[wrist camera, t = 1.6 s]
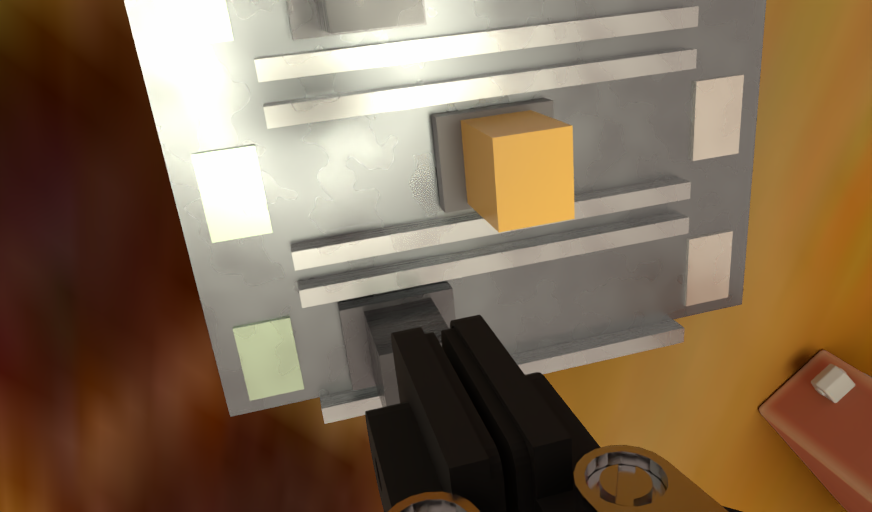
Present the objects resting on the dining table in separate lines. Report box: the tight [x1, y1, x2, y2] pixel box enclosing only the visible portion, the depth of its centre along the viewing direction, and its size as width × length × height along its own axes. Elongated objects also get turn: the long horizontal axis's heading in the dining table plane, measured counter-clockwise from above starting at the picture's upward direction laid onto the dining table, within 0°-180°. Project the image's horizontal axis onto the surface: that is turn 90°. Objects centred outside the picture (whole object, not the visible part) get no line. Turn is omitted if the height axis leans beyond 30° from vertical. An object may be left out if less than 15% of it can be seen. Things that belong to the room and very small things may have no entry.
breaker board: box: [124, 0, 766, 424], centre depth 27 cm, size 22×26×7 cm
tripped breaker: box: [431, 98, 575, 232], centre depth 26 cm, size 4×5×5 cm
